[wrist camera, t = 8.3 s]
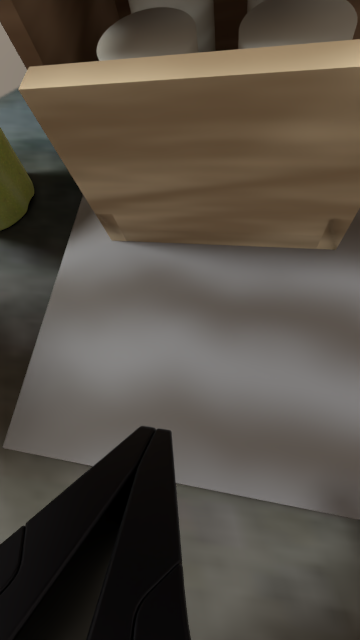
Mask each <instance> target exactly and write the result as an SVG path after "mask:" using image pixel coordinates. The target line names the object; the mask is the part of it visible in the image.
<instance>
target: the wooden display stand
mask: <svg viewBox="0 0 360 640" xmlns="http://www.w3.org/2000/svg"><path fill="white" fill-rule="evenodd" d="M213 1H214V26H215V51H224V50H236V49H238V43H239V27H240V24H241V22H242V20H243V18H244V17H245V15H246V14H247V3H248V0H213ZM347 1H348V2H349V3H350V4H351V5H352V6H353V7H354V9H355V11H356V13H357V25H356V29H355V32H354V35H353V39H352V40H356V39H360V0H347ZM130 14H131V10H130V6H129V2H128V0H0V22H1V24H2V26H3V28H4V29H5V31H6V33H7V35H8V36H9V38H10V40H11V42H12V44H13V45H14V47H15V49H16V51H17V52H18V54H19V56H20V58H21V59H22V61H23V63H24V65H25V67H26V68H27V70H28V68H29V67H33V66H45V65H57V64H69V63H81V62H93V61H99V59H98V56H97V46H98V42H99V40H100V38H101V37H102V35H103V34H104V33H105V31H106V30H107V29H108V28H109V27H110V26H112V25H113V24H114V23H116V22H117V21H119V20H120V19H122V18H124V17H125V16H128V15H130ZM140 426H149V427H154V428H156V429H157V428H161V429H167V430H171V432H172V442H173V455H174V467H175V480H176V483H179V484H184V485H189V486H194V487H199V488H204V489H209V490H214V491H219V492H224V493H229V494H234V495H239V496H244V497H249V498H254V499H259V500H264V501H269V502H274V503H279V504H284V505H289V506H294V507H298V508H303V509H308V510H313V511H318V512H323V513H328V514H333V515H338V516H343V517H348V518H353V519H358V520H360V208H359V210H358V212H357V214H356V215H355V217H354V219H353V221H352V222H351V224H350V226H349V228H348V229H347V231H346V233H345V235H344V236H343V238H342V240H341V242H340V243H339V245H338V247H337V249H336V250H330V249H306V248H282V247H257V246H233V245H209V244H185V243H161V242H137V241H112V240H111V239H110V237H109V235H108V234H107V232H106V231H105V229H104V227H103V226H102V224H101V222H100V221H99V219H98V218H97V216H96V214H95V213H94V211H93V210H92V208H91V206H90V205H89V203H88V201H87V200H86V198H85V197H84V195H83V196H82V200H81V203H80V206H79V209H78V212H77V215H76V218H75V222H74V225H73V228H72V231H71V234H70V237H69V240H68V244H67V247H66V250H65V253H64V256H63V259H62V262H61V266H60V269H59V272H58V275H57V278H56V281H55V284H54V288H53V291H52V294H51V297H50V300H49V303H48V306H47V310H46V313H45V316H44V319H43V322H42V325H41V328H40V332H39V335H38V338H37V341H36V344H35V347H34V351H33V354H32V357H31V360H30V363H29V366H28V369H27V373H26V376H25V379H24V382H23V385H22V388H21V391H20V395H19V398H18V401H17V404H16V407H15V410H14V413H13V417H12V420H11V423H10V426H9V429H8V432H7V435H6V439H5V442H4V445H3V448H6V449H11V450H16V451H21V452H26V453H31V454H36V455H41V456H46V457H51V458H56V459H61V460H65V461H70V462H75V463H80V464H85V465H90V466H94V465H95V464H96V463H97V462H99V461H100V460H101V459H102V458H103V457H104V456H106V455H107V454H108V453H109V452H110V451H112V450H113V449H114V448H115V447H116V446H117V445H119V444H120V443H121V442H122V441H123V440H125V439H126V438H127V437H128V436H129V435H130V434H132V433H133V432H134V431H135V430H136V429H137V428H139V427H140Z"/></svg>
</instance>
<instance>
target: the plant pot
mask: <svg viewBox="0 0 360 640" xmlns="http://www.w3.org/2000/svg"><path fill="white" fill-rule="evenodd" d="M33 196H34V186H33V183H32V181H31V179H30V177H29V176H28V174H27V172H26V171H25V169H24V167H23V165H22V164H21V162H20V161H19V159H18V157H17V156H16V154H15V152H14V150H13V149H12V147H11V145H10V144H9V142H8V140H7V138H6V137H5V135H4V133H3V131H2V130H1V128H0V231H1V230H3V229H6V228H8V227H10V226H11V225H13V224H14V223H16V222H17V221H18V220H20V219H21V218H22V217H23V216H24V214H25V213H26V212H27V209H28V204H29V201H30V199H31V198H32V197H33Z"/></svg>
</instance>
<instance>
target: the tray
mask: <svg viewBox="0 0 360 640" xmlns="http://www.w3.org/2000/svg"><path fill="white" fill-rule="evenodd" d="M128 2H129V6H130V10H131V14H130V15H128V16H125V17H124V18H122V19H120V20H119V21H117V22H116V23H114V24H113V25H112V26H110V27H109V28H108V29H107V30H106V31H105V33H104V34H103V35H102V37H101V38H100V40H99V42H98V46H97V56H98V59H99V61H93V62H81V63H69V64H57V65H45V66H33V67H29V68H28V70H27V72H26V74H25V77H24V79H23V81H22V83H21V85H20V87H19V89H18V90H19V91H20V93H21V95H22V96H23V98H24V100H25V101H26V103H27V104H28V106H29V108H30V109H31V111H32V112H33V114H34V116H35V117H36V119H37V121H38V122H39V124H40V125H41V127H42V129H43V130H44V132H45V134H46V135H47V137H48V138H49V140H50V142H51V143H52V145H53V146H54V148H55V150H56V151H57V153H58V155H59V156H60V158H61V159H62V161H63V163H64V164H65V166H66V167H67V169H68V171H69V172H70V174H71V176H72V177H73V179H74V180H75V182H76V184H77V185H78V187H79V189H80V190H81V192H82V193H83V195H84V197H85V198H86V200H87V201H88V203H89V205H90V206H91V208H92V210H93V211H94V213H95V214H96V216H97V218H98V219H99V221H100V222H101V224H102V226H103V227H104V229H105V231H106V232H107V234H108V235H109V237H110V239H111V240H112V241H137V242H161V243H185V244H209V245H233V246H257V247H282V248H306V249H330V250H336V249H337V247H338V245H339V243H340V242H341V240H342V238H343V236H344V235H345V233H346V231H347V229H348V228H349V226H350V224H351V222H352V221H353V219H354V217H355V215H356V214H357V212H358V210H359V208H360V39H356V40H352V39H353V35H354V32H355V29H356V25H357V13H356V11H355V9H354V7H353V6H352V5H351V4H350V3H349V2H348V1H347V0H248V3H247V14H246V15H245V17H244V18H243V20H242V22H241V24H240V27H239V43H238V49H236V50H224V51H215V26H214V1H213V0H128Z"/></svg>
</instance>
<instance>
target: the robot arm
mask: <svg viewBox="0 0 360 640" xmlns="http://www.w3.org/2000/svg"><path fill="white" fill-rule="evenodd" d="M0 640H191V637H190V631H189V625H188V617H187V608H186V598H185V589H184V577H183V567H182V555H181V542H180V530H179V517H178V505H177V492H176V480H175V467H174V455H173V442H172V432H171V430H167V429H161V428H157V429H156V428H154V427H149V426H140V427H139V428H137V429H136V430H135V431H134V432H133V433H132V434H130V435H129V436H128V437H127V438H126V439H125V440H123V441H122V442H121V443H120V444H119V445H117V446H116V447H115V448H114V449H113V450H112V451H110V452H109V453H108V454H107V455H106V456H104V457H103V458H102V459H101V460H100V461H99V462H97V463H96V464H95V465H94V466H93V467H92V468H90V469H89V470H88V471H87V472H86V473H84V474H83V475H82V476H81V477H80V478H79V479H77V480H76V481H75V482H74V483H73V484H71V485H70V486H69V487H68V488H67V489H66V490H64V491H63V492H62V493H61V494H60V495H59V496H57V497H56V498H55V499H54V500H53V501H51V502H50V503H49V504H48V505H47V506H46V507H44V508H43V509H42V510H41V511H40V512H38V513H37V514H36V515H35V516H34V517H33V518H31V519H30V520H29V521H28V522H27V523H26V526H22V527H21V528H19V529H18V530H17V531H16V532H15V533H13V534H12V535H11V536H10V537H9V538H8V539H6V540H5V541H4V542H3V543H2V544H0Z"/></svg>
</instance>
